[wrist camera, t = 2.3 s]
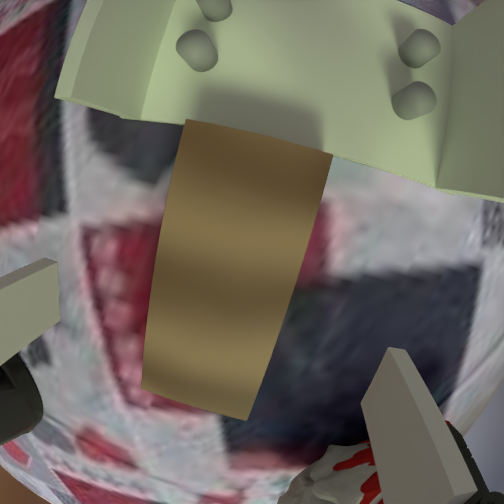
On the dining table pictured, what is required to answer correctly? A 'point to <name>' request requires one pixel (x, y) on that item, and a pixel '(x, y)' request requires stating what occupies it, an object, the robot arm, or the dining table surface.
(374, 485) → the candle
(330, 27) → the shelf frame
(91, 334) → the dining table surface
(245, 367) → the brown long block
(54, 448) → the dining table surface
